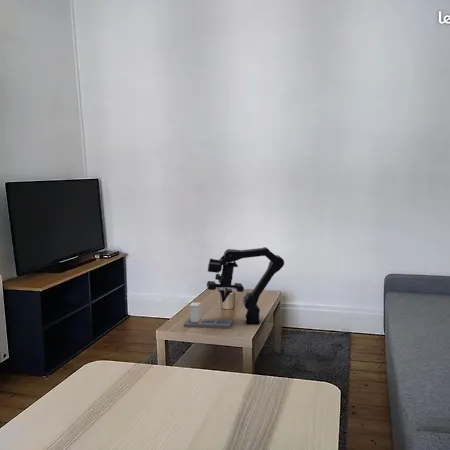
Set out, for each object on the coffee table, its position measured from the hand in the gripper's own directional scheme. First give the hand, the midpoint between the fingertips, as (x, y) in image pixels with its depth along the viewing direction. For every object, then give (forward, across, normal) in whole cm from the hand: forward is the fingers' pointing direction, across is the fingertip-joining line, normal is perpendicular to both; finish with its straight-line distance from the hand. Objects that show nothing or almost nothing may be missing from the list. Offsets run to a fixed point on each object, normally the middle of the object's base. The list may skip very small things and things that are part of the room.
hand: (222, 301), depth 241 cm
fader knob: (+12, +13, -1) cm, 17 cm away
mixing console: (+12, +6, +2) cm, 14 cm away
